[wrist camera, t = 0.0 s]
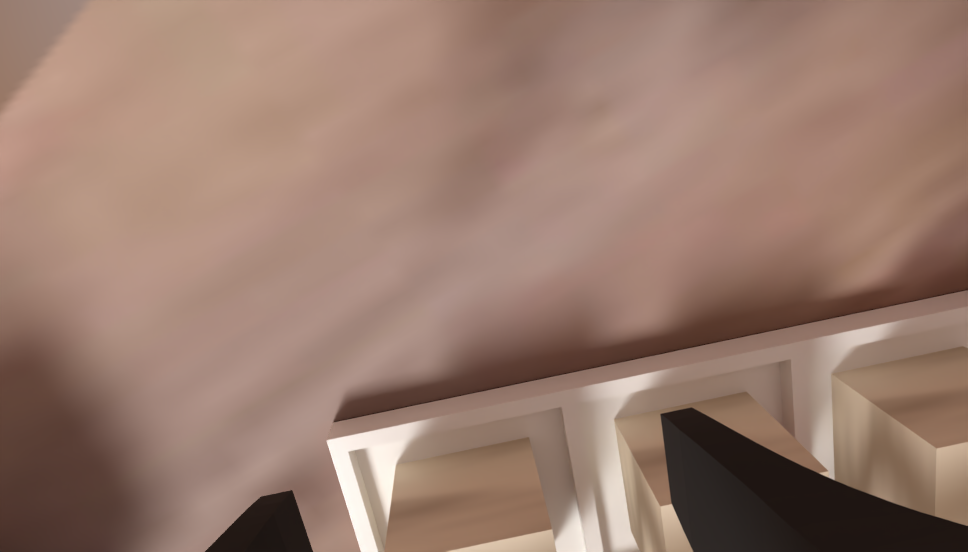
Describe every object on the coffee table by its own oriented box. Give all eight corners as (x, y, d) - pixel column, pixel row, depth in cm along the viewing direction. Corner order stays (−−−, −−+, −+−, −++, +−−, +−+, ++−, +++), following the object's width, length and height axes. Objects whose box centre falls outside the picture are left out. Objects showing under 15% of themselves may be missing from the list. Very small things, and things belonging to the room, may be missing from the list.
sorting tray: (994, 487, 25) (1021, 506, 24) (391, 614, 25) (388, 640, 24) (1006, 282, 22) (1036, 291, 21) (332, 422, 22) (326, 440, 21)
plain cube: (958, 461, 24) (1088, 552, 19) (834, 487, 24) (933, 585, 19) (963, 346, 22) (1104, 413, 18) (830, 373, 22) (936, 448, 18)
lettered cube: (758, 503, 24) (841, 608, 19) (630, 530, 24) (679, 643, 19) (750, 390, 22) (836, 473, 17) (613, 419, 22) (661, 509, 17)
